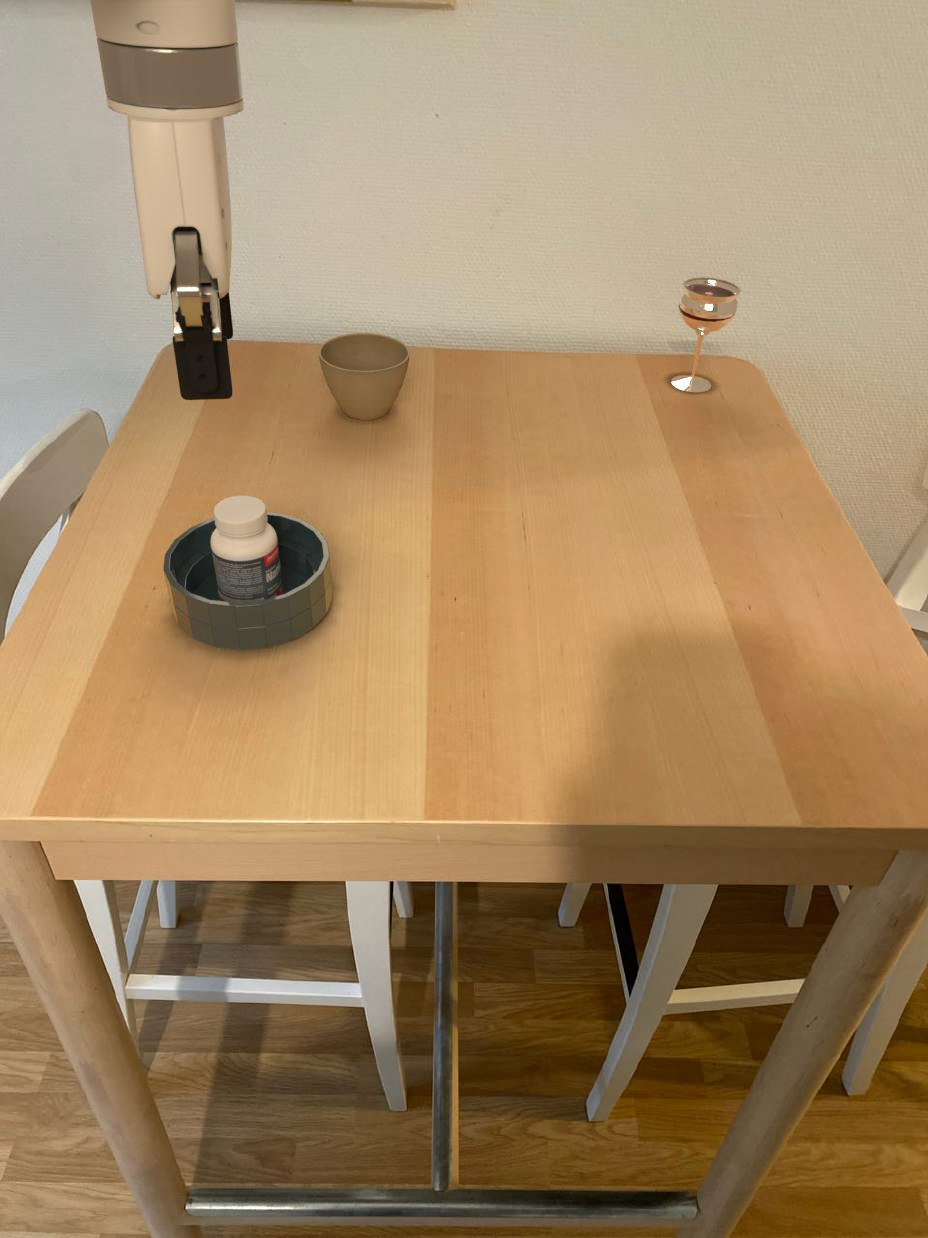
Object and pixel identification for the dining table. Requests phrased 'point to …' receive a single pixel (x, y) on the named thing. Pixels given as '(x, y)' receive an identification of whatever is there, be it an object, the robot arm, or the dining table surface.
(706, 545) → the dining table surface
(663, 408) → the dining table surface
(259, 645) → the bowl
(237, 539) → the pill bottle
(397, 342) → the flower pot
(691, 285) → the wineglass
